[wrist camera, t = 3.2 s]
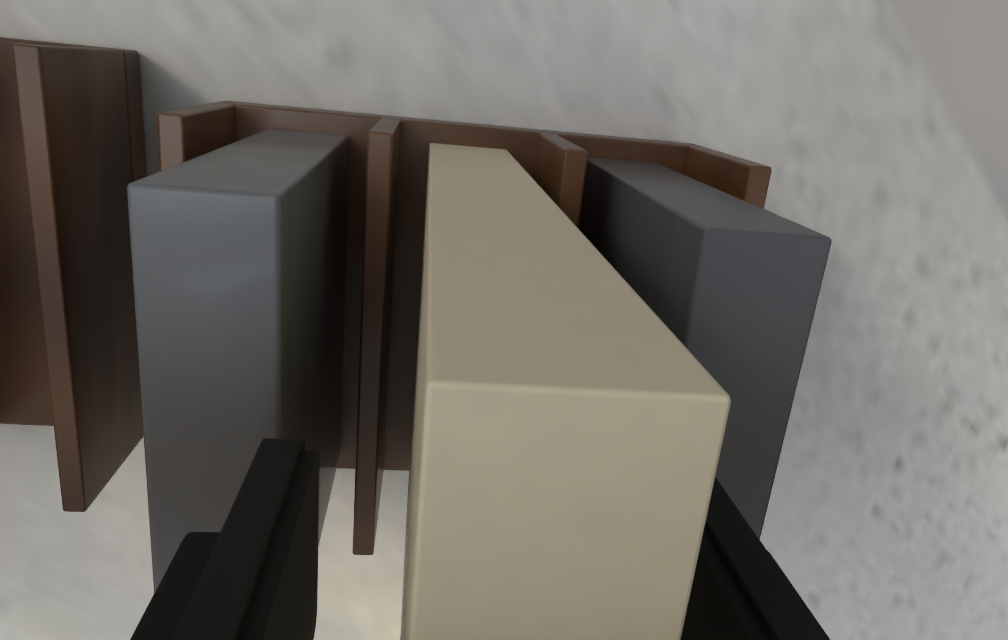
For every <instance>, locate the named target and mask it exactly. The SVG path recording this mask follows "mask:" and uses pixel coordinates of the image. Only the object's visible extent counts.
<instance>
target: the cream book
mask: <svg viewBox="0 0 1008 640" xmlns="http://www.w3.org/2000/svg"><path fill="white" fill-rule="evenodd" d="M730 404H731V400H730V396H729V394H728V393H727V392H726V391H725V390H724V389H723V388H722V387H721V386H720V385H719V383H718V382H717V381H716V380H715V379H714V378H713V377H712V376H711V375H710V374H709V372H708V371H707V370H706V369H705V368H704V367H703V366H702V365H701V364H700V363H699V361H698V360H697V359H696V358H695V357H694V356H693V355H692V354H691V353H690V351H689V350H688V349H687V348H686V347H685V346H684V345H683V344H682V343H681V342H680V340H679V339H678V338H677V337H676V336H675V335H674V334H673V333H672V332H671V331H670V329H669V328H668V327H667V326H666V325H665V324H664V323H663V322H662V321H661V320H660V318H659V317H658V316H657V315H656V314H655V313H654V312H653V311H652V310H651V308H650V307H649V306H648V305H647V304H646V303H645V302H644V301H643V300H642V299H641V297H640V296H639V295H638V294H637V293H636V292H635V291H634V290H633V289H632V288H631V286H630V285H629V284H628V283H627V282H626V281H625V280H624V279H623V278H622V277H621V275H620V274H619V273H618V272H617V271H616V270H615V269H614V268H613V267H612V265H611V264H610V263H609V262H608V261H607V260H606V259H605V258H604V257H603V256H602V254H601V253H600V252H599V251H598V250H597V249H596V248H595V247H594V246H593V245H592V243H591V242H590V241H589V240H588V239H587V238H586V237H585V236H584V235H583V234H582V232H581V231H580V230H579V229H578V228H577V227H576V226H575V225H574V224H573V222H572V221H571V220H570V219H569V218H568V217H567V216H566V215H565V214H564V213H563V211H562V210H561V209H560V208H559V207H558V206H557V205H556V204H555V203H554V202H553V200H552V199H551V198H550V197H549V196H548V195H547V194H546V193H545V192H544V190H543V189H542V188H541V187H540V186H539V185H538V184H537V183H536V182H535V181H534V179H533V178H532V177H531V176H530V175H529V174H528V173H527V172H526V171H525V170H524V168H523V167H522V166H521V165H520V164H519V163H518V162H517V161H516V160H515V159H514V157H513V156H512V155H511V154H510V153H509V152H508V151H507V150H506V149H495V148H483V147H472V146H461V145H449V144H438V143H430V144H429V156H428V172H427V188H426V204H425V220H424V237H423V253H422V269H421V285H420V301H419V318H418V334H417V350H416V366H415V382H414V399H413V415H412V431H411V447H410V465H409V484H408V503H407V522H406V541H405V561H404V580H403V599H402V618H401V637H400V640H680V639H681V635H682V630H683V625H684V620H685V616H686V611H687V606H688V602H689V597H690V592H691V587H692V583H693V578H694V573H695V569H696V564H697V559H698V555H699V550H700V545H701V540H702V536H703V531H704V526H705V522H706V517H707V512H708V507H709V503H710V498H711V493H712V489H713V484H714V479H715V475H716V470H717V465H718V460H719V456H720V451H721V446H722V442H723V437H724V432H725V428H726V423H727V418H728V413H729V409H730Z"/></svg>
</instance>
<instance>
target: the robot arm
mask: <svg viewBox="0 0 1008 640" xmlns="http://www.w3.org/2000/svg"><path fill="white" fill-rule="evenodd" d="M319 469H320V456H319V451H315V450H306V446H305V441H304V440H297V439H271V438H263V440H262V441H261V443H260V445H259V448H258V450H257V452H256V454H255V457H254V459H253V461H252V463H251V465H250V468H249V470H248V472H247V474H246V476H245V479H244V481H243V483H242V485H241V488H240V490H239V492H238V494H237V496H236V499H235V501H234V503H233V505H232V508H231V510H230V512H229V514H228V516H227V519H226V521H225V523H224V525H223V528H222V530H221V532H189V533H187V534H186V536H185V537H184V539H183V540H182V542H181V544H180V546H179V548H178V549H177V551H176V553H175V555H174V557H173V559H172V561H171V563H170V565H169V567H168V569H167V570H166V572H165V574H164V576H163V578H162V580H161V582H160V584H159V586H158V588H157V590H156V592H155V593H154V595H153V597H152V599H151V601H150V603H149V605H148V607H147V609H146V611H145V613H144V614H143V616H142V618H141V620H140V622H139V624H138V626H137V628H136V630H135V632H134V634H133V636H132V637H131V639H130V640H313V639H314V633H315V626H316V616H317V581H318V525H319ZM680 640H830V639H829V637H828V636H827V634H826V633H825V632H824V630H823V629H822V627H821V626H820V624H819V623H818V621H817V620H816V619H815V617H814V616H813V614H812V613H811V611H810V610H809V609H808V607H807V606H806V604H805V603H804V601H803V600H802V599H801V597H800V596H799V594H798V593H797V591H796V590H795V588H794V587H793V586H792V584H791V583H790V581H789V580H788V578H787V577H786V576H785V574H784V573H783V571H782V570H781V568H780V567H779V566H778V564H777V563H776V561H775V560H774V558H773V557H772V555H771V554H770V553H769V552H768V551H767V550H766V549H765V547H764V546H763V544H762V543H761V542H760V540H759V539H758V537H757V536H756V534H755V533H754V531H753V530H752V529H751V527H750V526H749V524H748V523H747V521H746V520H745V519H744V517H743V516H742V514H741V513H740V511H739V510H738V508H737V507H736V506H735V504H734V503H733V501H732V500H731V498H730V497H729V495H728V494H727V493H726V491H725V490H724V488H723V487H722V485H721V484H720V482H719V481H718V480H717V478H716V477H715V479H714V484H713V489H712V493H711V498H710V503H709V507H708V512H707V517H706V522H705V526H704V531H703V536H702V540H701V545H700V550H699V555H698V559H697V564H696V569H695V573H694V578H693V583H692V587H691V592H690V597H689V602H688V606H687V611H686V616H685V620H684V625H683V630H682V635H681V639H680Z"/></svg>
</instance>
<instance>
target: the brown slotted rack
mask: <svg viewBox="0 0 1008 640" xmlns="http://www.w3.org/2000/svg"><path fill="white" fill-rule="evenodd" d="M157 119H158V138H159V157H160V172H158V173H155V174H152V175H150V176H147V177H145V178H142V179H140V180H137V181H135V182H132V183H129V184H128V187H127V194H128V209H129V224H130V239H131V254H132V268H133V283H134V298H135V313H136V328H137V343H138V358H139V372H140V387H141V402H142V417H143V432H144V447H145V461H146V476H147V491H148V506H149V521H150V536H151V551H152V565H153V580H154V593H155V592H156V590H157V588H158V586H159V584H160V582H161V580H162V578H163V576H164V574H165V572H166V570H167V569H168V567H169V565H170V563H171V561H172V559H173V557H174V555H175V553H176V551H177V549H178V548H179V546H180V544H181V542H182V540H183V539H184V537H185V536H186V534H187V533H189V532H221V530H222V528H223V525H224V523H225V521H226V519H227V516H228V514H229V512H230V510H231V508H232V505H233V503H234V501H235V499H236V496H237V494H238V492H239V490H240V488H241V485H242V483H243V481H244V479H245V476H246V474H247V472H248V470H249V468H250V465H251V463H252V461H253V459H254V457H255V454H256V452H257V450H258V448H259V445H260V443H261V441H262V440H263V438H271V439H297V440H304V441H305V446H306V450H315V451H319V456H320V469H319V525H318V545H319V541H320V537H321V532H322V528H323V524H324V519H325V515H326V511H327V507H328V502H329V498H330V494H331V489H332V485H333V481H334V477H335V472H336V468H349V469H356V472H355V500H354V529H353V554H354V555H373V553H374V545H375V536H376V528H377V519H378V510H379V502H380V493H381V485H382V476H383V470H407V471H409V465H410V447H411V431H412V415H413V399H414V382H415V366H416V350H417V334H418V318H419V301H420V285H421V269H422V253H423V237H424V220H425V204H426V188H427V172H428V156H429V144H430V143H438V144H449V145H461V146H472V147H483V148H495V149H506V150H507V151H508V152H509V153H510V154H511V155H512V156H513V157H514V159H515V160H516V161H517V162H518V163H519V164H520V165H521V166H522V167H523V168H524V170H525V171H526V172H527V173H528V174H529V175H530V176H531V177H532V178H533V179H534V181H535V182H536V183H537V184H538V185H539V186H540V187H541V188H542V189H543V190H544V192H545V193H546V194H547V195H548V196H549V197H550V198H551V199H552V200H553V202H554V203H555V204H556V205H557V206H558V207H559V208H560V209H561V210H562V211H563V213H564V214H565V215H566V216H567V217H568V218H569V219H570V220H571V221H572V222H573V224H574V225H575V226H576V227H577V228H578V229H579V230H580V231H581V232H582V234H583V235H584V236H585V237H586V238H587V239H588V240H589V241H590V242H591V243H592V245H593V246H594V247H595V248H596V249H597V250H598V251H599V252H600V253H601V254H602V256H603V257H604V258H605V259H606V260H607V261H608V262H609V263H610V264H611V265H612V267H613V268H614V269H615V270H616V271H617V272H618V273H619V274H620V275H621V277H622V278H623V279H624V280H625V281H626V282H627V283H628V284H629V285H630V286H631V288H632V289H633V290H634V291H635V292H636V293H637V294H638V295H639V296H640V297H641V299H642V300H643V301H644V302H645V303H646V304H647V305H648V306H649V307H650V308H651V310H652V311H653V312H654V313H655V314H656V315H657V316H658V317H659V318H660V320H661V321H662V322H663V323H664V324H665V325H666V326H667V327H668V328H669V329H670V331H671V332H672V333H673V334H674V335H675V336H676V337H677V338H678V339H679V340H680V342H681V343H682V344H683V345H684V346H685V347H686V348H687V349H688V350H689V351H690V353H691V354H692V355H693V356H694V357H695V358H696V359H697V360H698V361H699V363H700V364H701V365H702V366H703V367H704V368H705V369H706V370H707V371H708V372H709V374H710V375H711V376H712V377H713V378H714V379H715V380H716V381H717V382H718V383H719V385H720V386H721V387H722V388H723V389H724V390H725V391H726V392H727V393H728V394H729V396H730V400H731V404H730V409H729V413H728V418H727V423H726V428H725V432H724V437H723V442H722V446H721V451H720V456H719V460H718V465H717V470H716V475H715V477H716V478H717V480H718V481H719V482H720V484H721V485H722V487H723V488H724V490H725V491H726V493H727V494H728V495H729V497H730V498H731V500H732V501H733V503H734V504H735V506H736V507H737V508H738V510H739V511H740V513H741V514H742V516H743V517H744V519H745V520H746V521H747V523H748V524H749V526H750V527H751V529H752V530H753V531H754V533H755V534H756V536H757V537H758V539H760V535H761V531H762V527H763V523H764V519H765V515H766V510H767V506H768V502H769V498H770V494H771V490H772V486H773V482H774V477H775V473H776V469H777V465H778V461H779V457H780V453H781V448H782V444H783V440H784V436H785V432H786V428H787V424H788V420H789V415H790V411H791V407H792V403H793V399H794V395H795V391H796V386H797V382H798V378H799V374H800V370H801V366H802V362H803V358H804V353H805V349H806V345H807V341H808V337H809V333H810V329H811V324H812V320H813V316H814V312H815V308H816V304H817V300H818V296H819V291H820V287H821V283H822V279H823V275H824V271H825V267H826V262H827V258H828V254H829V250H830V246H831V238H829V237H827V236H825V235H823V234H820V233H818V232H816V231H813V230H811V229H809V228H806V227H804V226H802V225H799V224H797V223H795V222H792V221H790V220H788V219H785V218H783V217H781V216H778V215H776V214H774V213H771V212H769V211H767V210H764V204H765V199H766V194H767V189H768V185H769V180H770V175H771V167H769V166H765V165H762V164H759V163H755V162H752V161H749V160H745V159H742V158H738V157H735V156H732V155H728V154H725V153H722V152H718V151H715V150H712V149H708V148H704V147H702V146H698V145H695V144H689V143H678V142H667V141H657V140H646V139H635V138H624V137H613V136H602V135H591V134H581V133H570V132H559V131H548V130H537V129H526V128H515V127H505V126H494V125H483V124H472V123H461V122H450V121H439V120H429V119H418V118H407V117H396V116H385V115H374V114H363V113H353V112H342V111H331V110H320V109H309V108H298V107H287V106H277V105H266V104H255V103H244V102H233V101H223V102H217V103H211V104H206V105H200V106H194V107H188V108H182V109H177V110H171V111H165V112H160V113H158V115H157Z"/></svg>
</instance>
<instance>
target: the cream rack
mask: <svg viewBox="0 0 1008 640" xmlns="http://www.w3.org/2000/svg"><path fill="white" fill-rule="evenodd" d="M145 177H146V166H145V149H144V132H143V115H142V98H141V81H140V64H139V54H138V52H137V51H134V50H124V49H114V48H104V47H94V46H84V45H73V44H63V43H53V42H43V41H33V40H23V39H13V38H2V37H0V424H23V425H48V426H54V431H55V440H56V450H57V459H58V468H59V477H60V486H61V495H62V504H63V510H64V511H70V512H84V511H86V510H87V509H88V507H89V506H90V505H91V503H92V502H93V501H94V500H95V498H96V497H97V496H98V494H99V493H100V492H101V491H102V489H103V488H104V487H105V485H106V484H107V483H108V482H109V480H110V479H111V478H112V476H113V475H114V474H115V472H116V471H117V470H118V469H119V467H120V466H121V465H122V463H123V462H124V461H125V460H126V458H127V457H128V456H129V454H130V453H131V452H132V450H133V449H134V448H135V447H136V445H137V444H138V443H139V441H140V440H141V439H142V438H143V436H144V432H143V417H142V402H141V387H140V372H139V358H138V343H137V328H136V313H135V298H134V283H133V268H132V254H131V239H130V224H129V209H128V194H127V187H128V184H129V183H132V182H135V181H137V180H140V179H142V178H145Z"/></svg>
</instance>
